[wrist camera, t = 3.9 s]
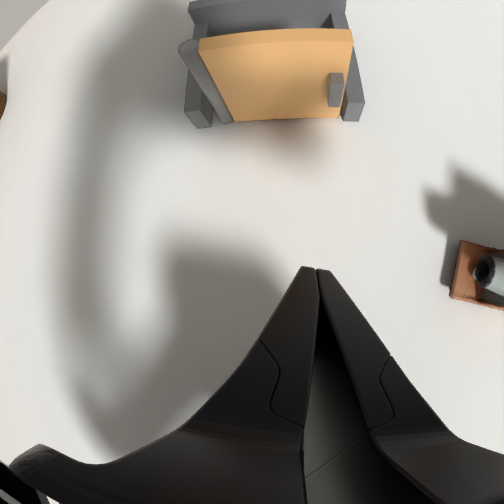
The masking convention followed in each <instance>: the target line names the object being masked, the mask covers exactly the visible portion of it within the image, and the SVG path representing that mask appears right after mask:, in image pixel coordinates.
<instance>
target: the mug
mask: <svg viewBox="0 0 504 504" xmlns="http://www.w3.org/2000/svg"><path fill="white" fill-rule="evenodd" d="M5 103H6V98H5V95H4V94H3V93H2V92H1V91H0V119H1V116H2V114H3V111H4V108H5Z"/></svg>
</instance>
